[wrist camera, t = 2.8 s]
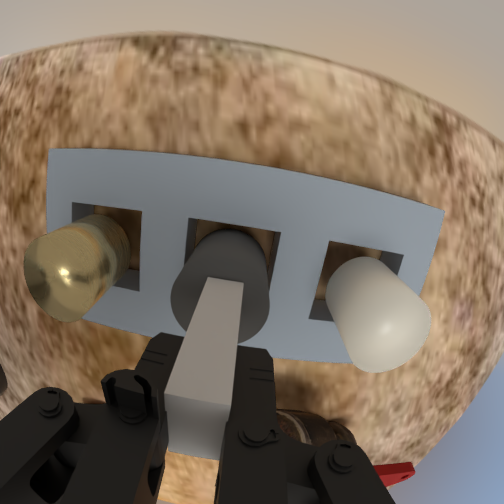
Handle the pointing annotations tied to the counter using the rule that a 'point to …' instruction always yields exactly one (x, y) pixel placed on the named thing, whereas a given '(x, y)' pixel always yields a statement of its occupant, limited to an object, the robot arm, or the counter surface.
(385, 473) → the lever
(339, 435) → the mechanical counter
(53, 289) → the gold cylinder
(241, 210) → the grey slotted holder
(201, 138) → the counter surface
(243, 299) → the dark gray cylinder
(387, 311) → the white rounded cylinder
